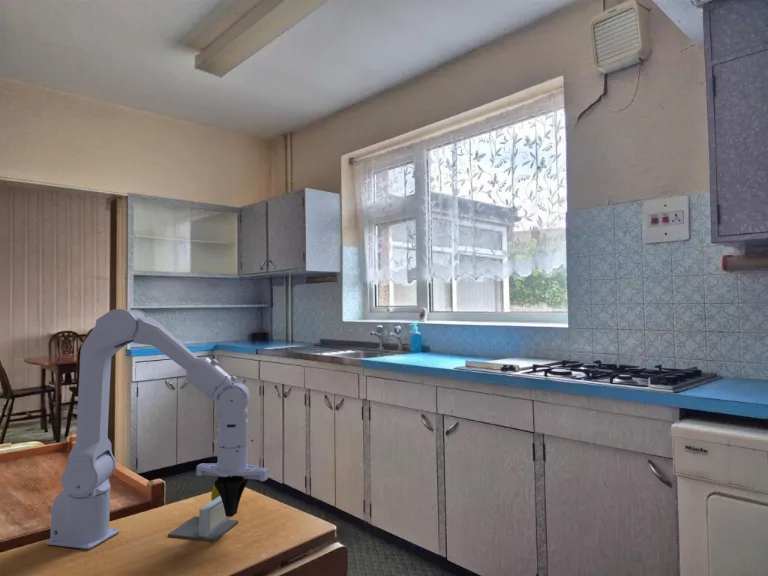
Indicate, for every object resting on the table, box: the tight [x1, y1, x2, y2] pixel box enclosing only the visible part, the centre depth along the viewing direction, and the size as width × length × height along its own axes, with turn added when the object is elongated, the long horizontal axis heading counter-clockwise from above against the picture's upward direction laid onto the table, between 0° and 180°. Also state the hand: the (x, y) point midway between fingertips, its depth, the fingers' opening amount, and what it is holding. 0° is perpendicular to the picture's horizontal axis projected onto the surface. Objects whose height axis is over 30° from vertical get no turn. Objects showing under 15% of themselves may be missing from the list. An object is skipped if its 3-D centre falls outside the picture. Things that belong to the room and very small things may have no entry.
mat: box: [167, 515, 239, 542], centre depth 103 cm, size 10×9×1 cm
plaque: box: [198, 496, 229, 537], centre depth 103 cm, size 2×8×5 cm, turn 168°
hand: (231, 514), depth 102 cm, fingers closed
